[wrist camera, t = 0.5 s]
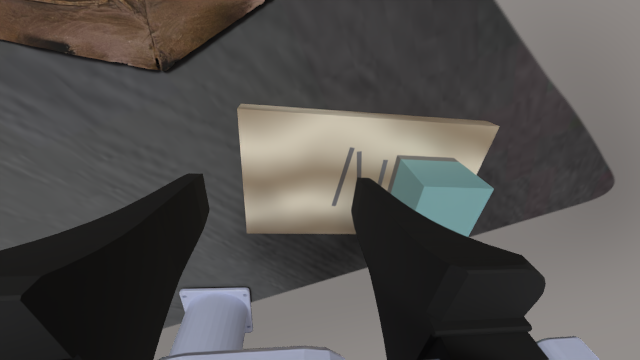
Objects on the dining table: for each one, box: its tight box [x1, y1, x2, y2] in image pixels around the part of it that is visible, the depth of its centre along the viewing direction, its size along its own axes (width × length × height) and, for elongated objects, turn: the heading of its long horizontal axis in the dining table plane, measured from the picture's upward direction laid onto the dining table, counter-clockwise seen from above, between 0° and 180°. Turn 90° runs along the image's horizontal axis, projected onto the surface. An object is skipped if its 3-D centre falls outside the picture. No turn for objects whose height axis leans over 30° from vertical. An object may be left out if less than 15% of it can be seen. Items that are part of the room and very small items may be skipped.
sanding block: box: [387, 155, 494, 237], centre depth 21 cm, size 8×5×5 cm, turn 175°
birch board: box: [237, 104, 499, 234], centre depth 22 cm, size 12×21×2 cm, turn 85°
